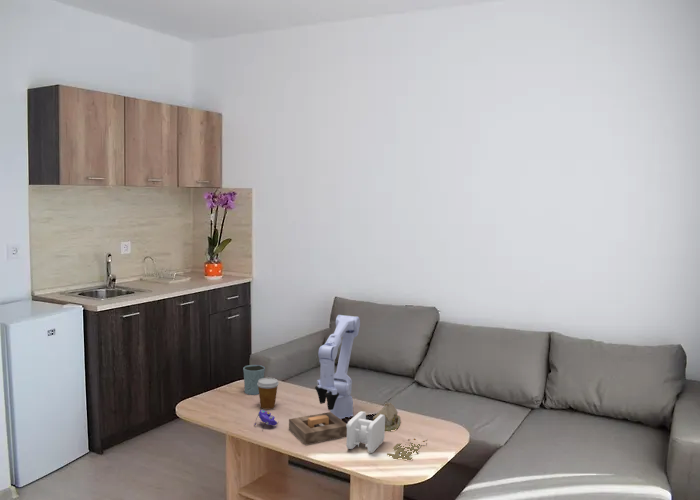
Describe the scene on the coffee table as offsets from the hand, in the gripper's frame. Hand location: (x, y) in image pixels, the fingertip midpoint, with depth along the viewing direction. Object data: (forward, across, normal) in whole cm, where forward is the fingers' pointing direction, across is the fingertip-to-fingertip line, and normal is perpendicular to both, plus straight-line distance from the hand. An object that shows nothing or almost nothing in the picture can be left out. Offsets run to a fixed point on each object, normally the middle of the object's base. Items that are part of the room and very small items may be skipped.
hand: (326, 406), depth 252 cm
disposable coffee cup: (+10, -33, -13) cm, 37 cm away
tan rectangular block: (+8, +3, -5) cm, 10 cm away
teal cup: (+10, -54, -12) cm, 56 cm away
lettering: (+10, +30, +21) cm, 38 cm away
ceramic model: (+10, +8, +24) cm, 27 cm away
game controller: (+10, -12, -22) cm, 27 cm away
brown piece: (+9, +3, -5) cm, 11 cm away
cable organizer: (+10, +22, +6) cm, 25 cm away
